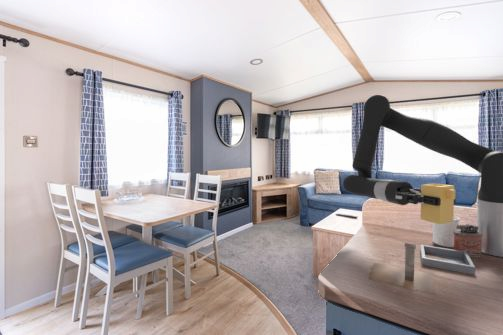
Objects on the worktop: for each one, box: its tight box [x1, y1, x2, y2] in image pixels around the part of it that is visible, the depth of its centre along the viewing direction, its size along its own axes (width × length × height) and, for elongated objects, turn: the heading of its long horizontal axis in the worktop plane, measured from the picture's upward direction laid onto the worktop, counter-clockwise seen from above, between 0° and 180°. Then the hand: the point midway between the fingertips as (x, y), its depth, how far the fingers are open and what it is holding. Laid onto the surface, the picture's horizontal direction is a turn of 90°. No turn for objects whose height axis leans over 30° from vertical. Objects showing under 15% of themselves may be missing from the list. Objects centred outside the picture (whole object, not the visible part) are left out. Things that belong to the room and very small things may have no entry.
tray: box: [419, 244, 476, 276], centre depth 73 cm, size 12×12×3 cm
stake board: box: [368, 242, 436, 295], centre depth 65 cm, size 14×11×10 cm
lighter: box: [453, 223, 483, 258], centre depth 79 cm, size 8×3×10 cm, turn 84°
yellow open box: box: [420, 182, 457, 224], centre depth 67 cm, size 7×5×10 cm
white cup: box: [431, 215, 461, 248], centre depth 89 cm, size 8×8×10 cm
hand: (447, 200), depth 65 cm, fingers closed on yellow open box, 5 cm apart
